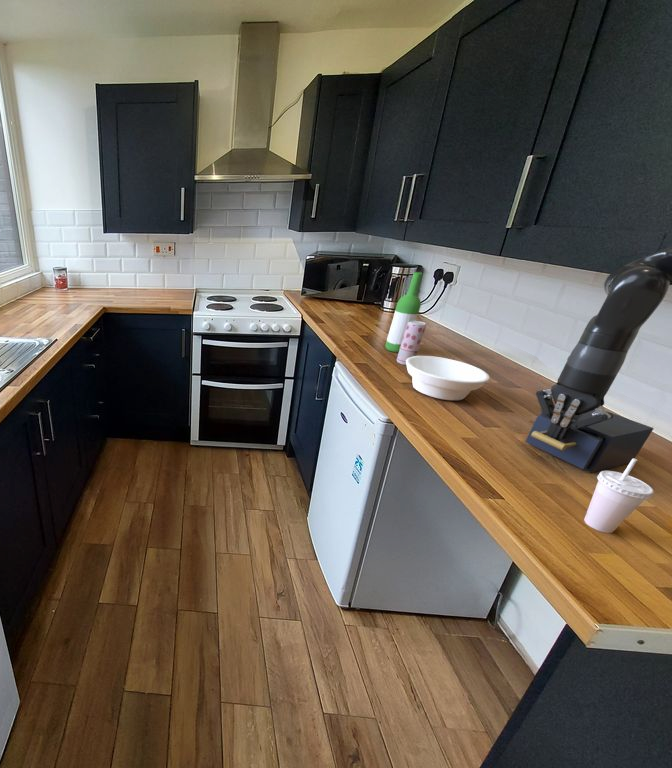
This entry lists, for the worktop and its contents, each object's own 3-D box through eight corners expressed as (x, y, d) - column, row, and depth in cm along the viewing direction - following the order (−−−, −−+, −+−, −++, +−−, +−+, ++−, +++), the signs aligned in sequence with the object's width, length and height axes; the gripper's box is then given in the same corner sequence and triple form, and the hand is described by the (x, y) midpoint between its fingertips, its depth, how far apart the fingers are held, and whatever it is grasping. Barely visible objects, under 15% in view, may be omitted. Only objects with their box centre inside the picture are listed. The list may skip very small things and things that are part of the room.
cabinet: (591, 473, 86) (612, 437, 82) (526, 442, 97) (543, 409, 93) (632, 462, 90) (654, 428, 87) (566, 434, 101) (583, 402, 98)
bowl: (389, 375, 133) (396, 352, 130) (459, 382, 130) (468, 359, 126) (412, 403, 115) (421, 377, 111) (494, 412, 111) (506, 386, 108)
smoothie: (570, 507, 76) (607, 445, 70) (618, 522, 72) (661, 458, 66) (577, 527, 71) (617, 462, 65) (629, 544, 67) (676, 477, 62)
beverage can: (395, 358, 149) (407, 319, 143) (413, 361, 147) (425, 321, 141) (396, 363, 144) (408, 323, 138) (414, 366, 142) (427, 325, 136)
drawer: (567, 473, 84) (584, 444, 81) (510, 444, 94) (523, 417, 91) (621, 460, 90) (639, 432, 87) (562, 434, 99) (575, 408, 96)
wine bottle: (407, 354, 154) (432, 275, 141) (384, 351, 156) (407, 273, 144) (405, 349, 160) (429, 272, 148) (384, 345, 163) (405, 270, 151)
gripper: (647, 377, 76) (601, 453, 84) (565, 354, 88) (532, 422, 95) (622, 381, 74) (578, 458, 81) (542, 356, 86) (510, 426, 93)
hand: (553, 439), depth 88 cm, fingers closed
